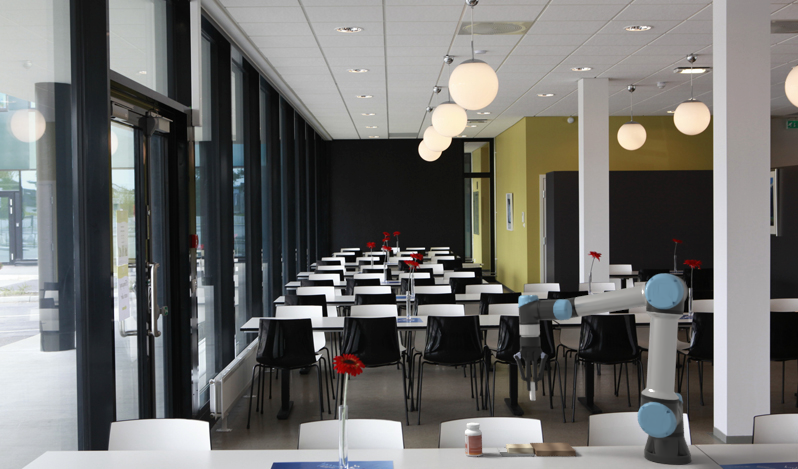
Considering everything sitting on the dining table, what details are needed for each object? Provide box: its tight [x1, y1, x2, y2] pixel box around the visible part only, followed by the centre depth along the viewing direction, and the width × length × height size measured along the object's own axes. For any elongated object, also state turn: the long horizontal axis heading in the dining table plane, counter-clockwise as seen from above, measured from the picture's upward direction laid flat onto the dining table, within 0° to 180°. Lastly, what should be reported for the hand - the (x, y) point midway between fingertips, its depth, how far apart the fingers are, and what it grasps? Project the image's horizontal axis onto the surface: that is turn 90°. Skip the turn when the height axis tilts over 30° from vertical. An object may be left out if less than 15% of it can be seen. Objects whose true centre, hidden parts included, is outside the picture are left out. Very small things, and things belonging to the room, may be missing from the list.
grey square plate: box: [499, 452, 536, 458], centre depth 224 cm, size 12×12×1 cm
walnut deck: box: [529, 442, 577, 457], centre depth 224 cm, size 14×12×2 cm
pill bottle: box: [464, 422, 483, 458], centre depth 222 cm, size 6×6×11 cm
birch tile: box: [505, 443, 535, 455], centre depth 224 cm, size 9×6×2 cm, turn 89°
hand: (532, 399), depth 227 cm, fingers closed
